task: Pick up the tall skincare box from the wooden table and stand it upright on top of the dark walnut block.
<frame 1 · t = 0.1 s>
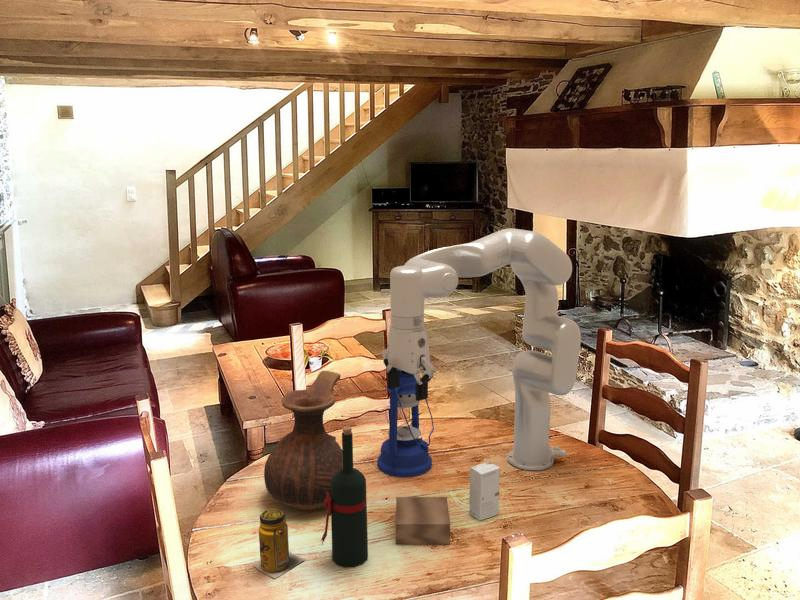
hand: (407, 393, 164), 31 cm above the table, tool pointing down, fingers open, 9 cm apart
skincare box: (483, 514, 172), on the table
condiment: (278, 564, 153), on the table
wine bottle: (345, 558, 155), on the table
jug: (309, 498, 180), on the table
lantern: (404, 465, 197), on the table
walnut block: (422, 529, 165), on the table
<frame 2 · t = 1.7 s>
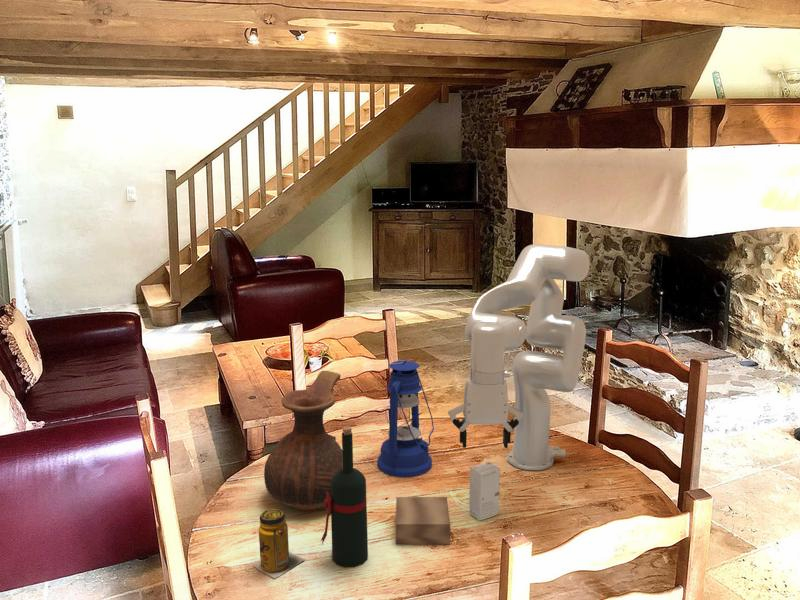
hand: (484, 445, 167), 18 cm above the table, tool pointing down, fingers open, 9 cm apart
nothing on the table moved.
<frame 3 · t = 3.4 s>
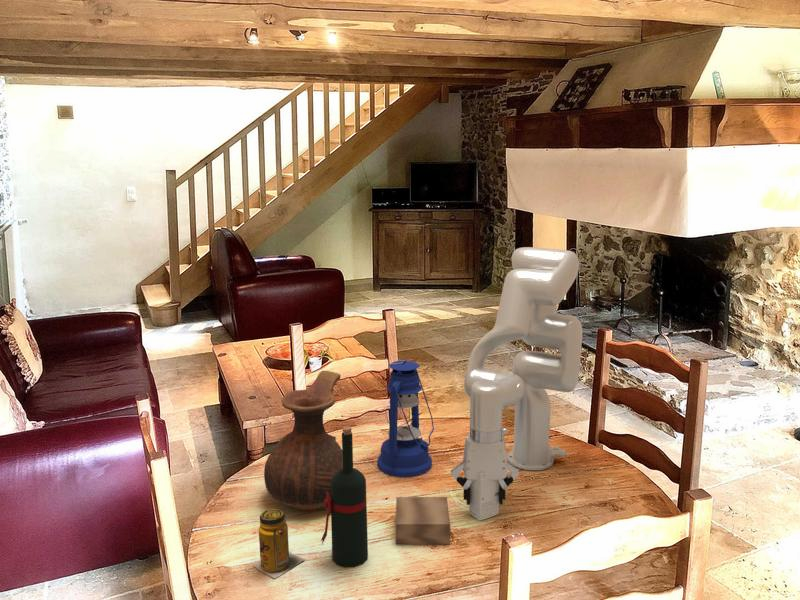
hand: (484, 501, 171), 3 cm above the table, tool pointing down, fingers closed on skincare box, 7 cm apart
skincare box: (483, 514, 172), on the table, touching gripper
everything else where it was.
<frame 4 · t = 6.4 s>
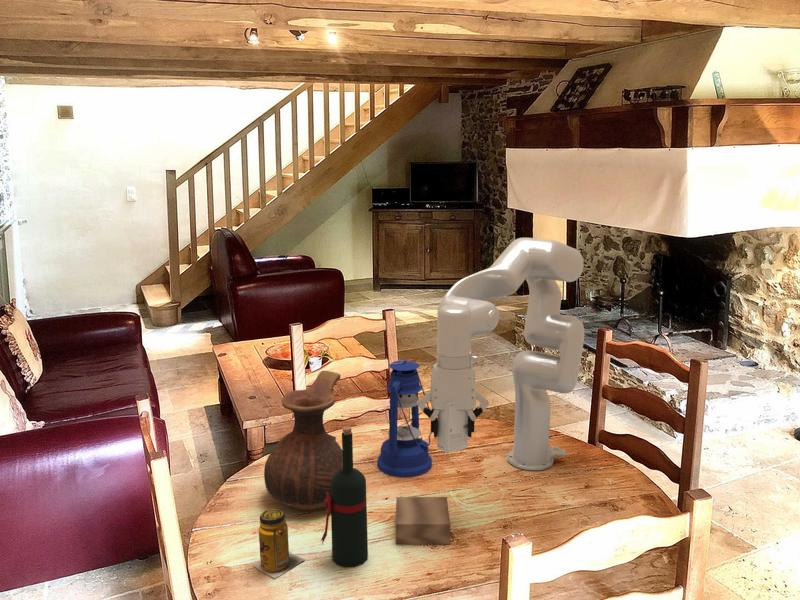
hand: (452, 434, 163), 22 cm above the table, tool pointing down, fingers closed on skincare box, 7 cm apart
skincare box: (452, 448, 164), point 19 cm above the table, touching gripper
everything else where it was.
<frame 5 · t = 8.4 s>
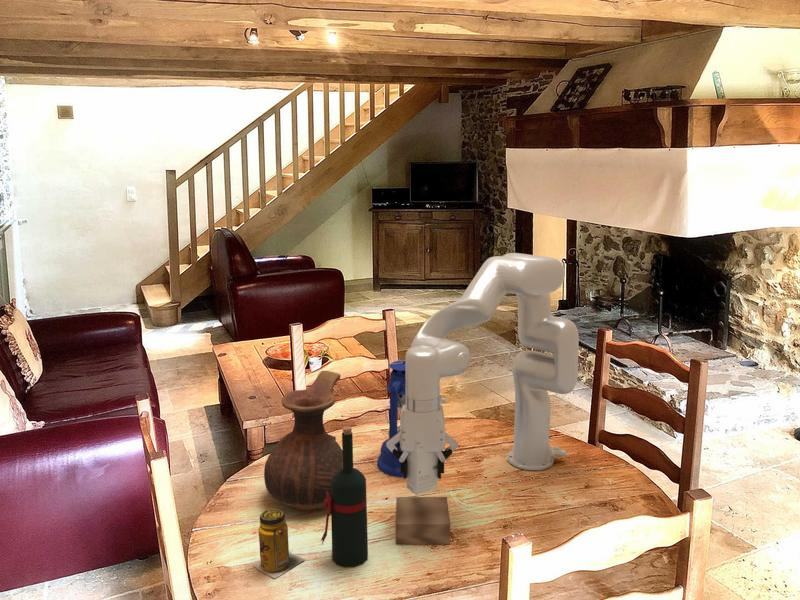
hand: (422, 475, 162), 14 cm above the table, tool pointing down, fingers closed on skincare box, 7 cm apart
skincare box: (422, 489, 163), point 10 cm above the table, touching gripper
everything else where it was.
when the fingers open (9 cm above the table, at t = 9.8 s): skincare box stays where it is, resting on walnut block.
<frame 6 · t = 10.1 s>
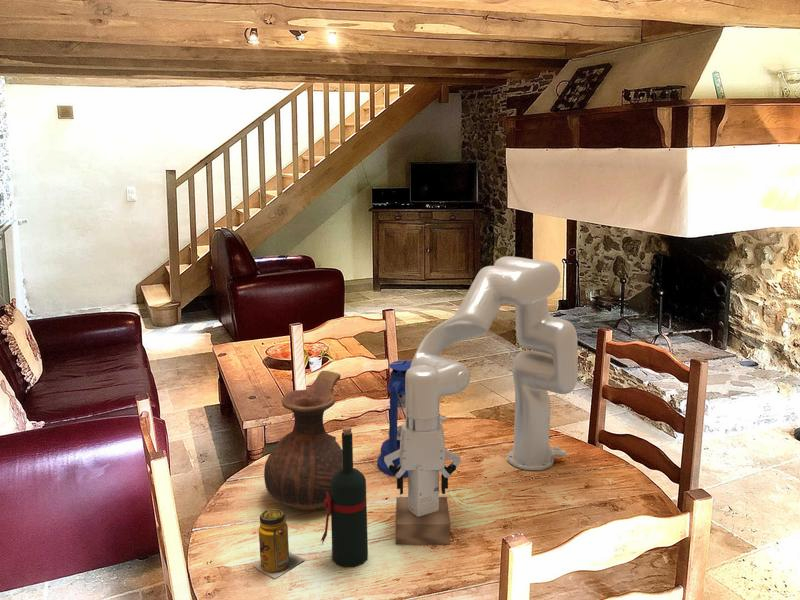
hand: (422, 491, 163), 10 cm above the table, tool pointing down, fingers open, 9 cm apart
skincare box: (423, 510, 164), point 5 cm above the table, touching walnut block
everything else where it was.
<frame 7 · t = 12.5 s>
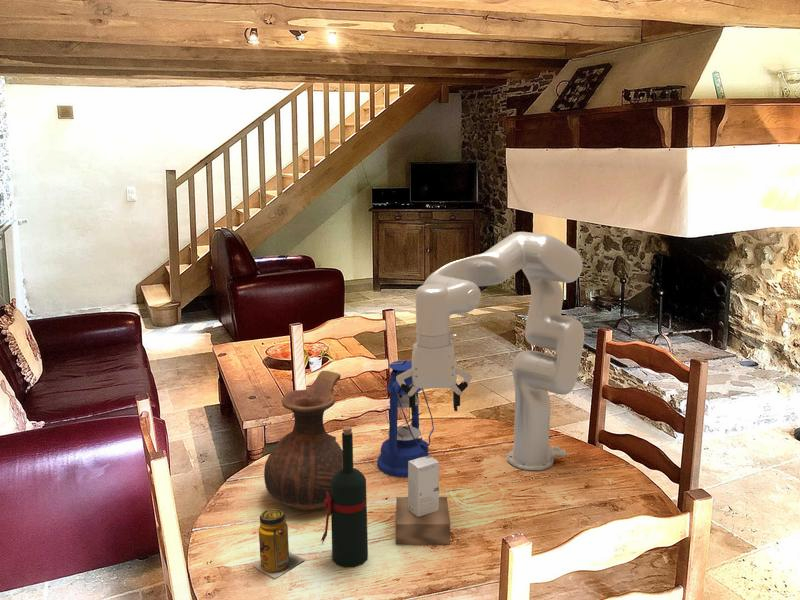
hand: (434, 409, 165), 27 cm above the table, tool pointing down, fingers open, 9 cm apart
nothing on the table moved.
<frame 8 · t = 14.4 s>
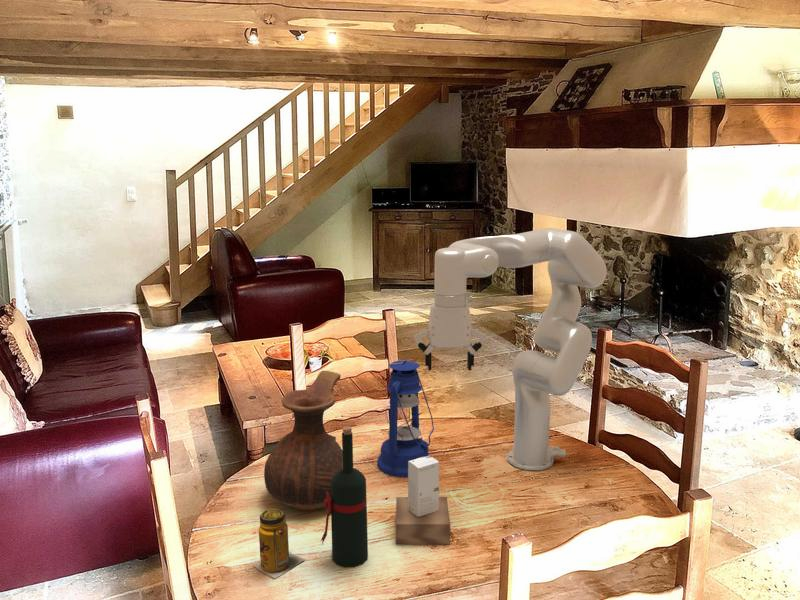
hand: (449, 368, 174), 33 cm above the table, tool pointing down, fingers open, 9 cm apart
nothing on the table moved.
at the end: skincare box inside the target area on the walnut block (0.4 cm from its centre), point 4.8 cm above the walnut block's base; skincare box tilted 0°; skincare box touching walnut block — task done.
